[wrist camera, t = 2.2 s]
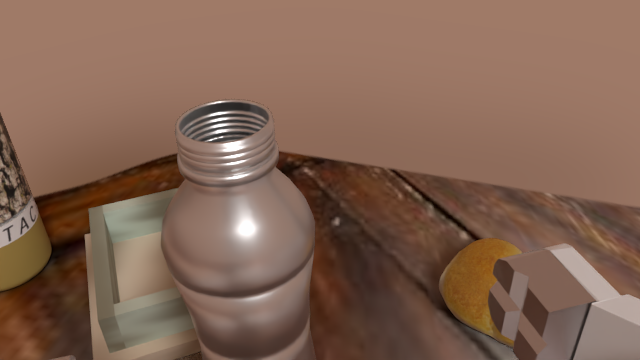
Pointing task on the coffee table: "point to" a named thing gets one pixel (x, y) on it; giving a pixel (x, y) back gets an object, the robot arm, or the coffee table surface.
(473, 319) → the bread roll
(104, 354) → the bottle stand
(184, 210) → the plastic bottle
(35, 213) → the paper tube
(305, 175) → the coffee table surface
